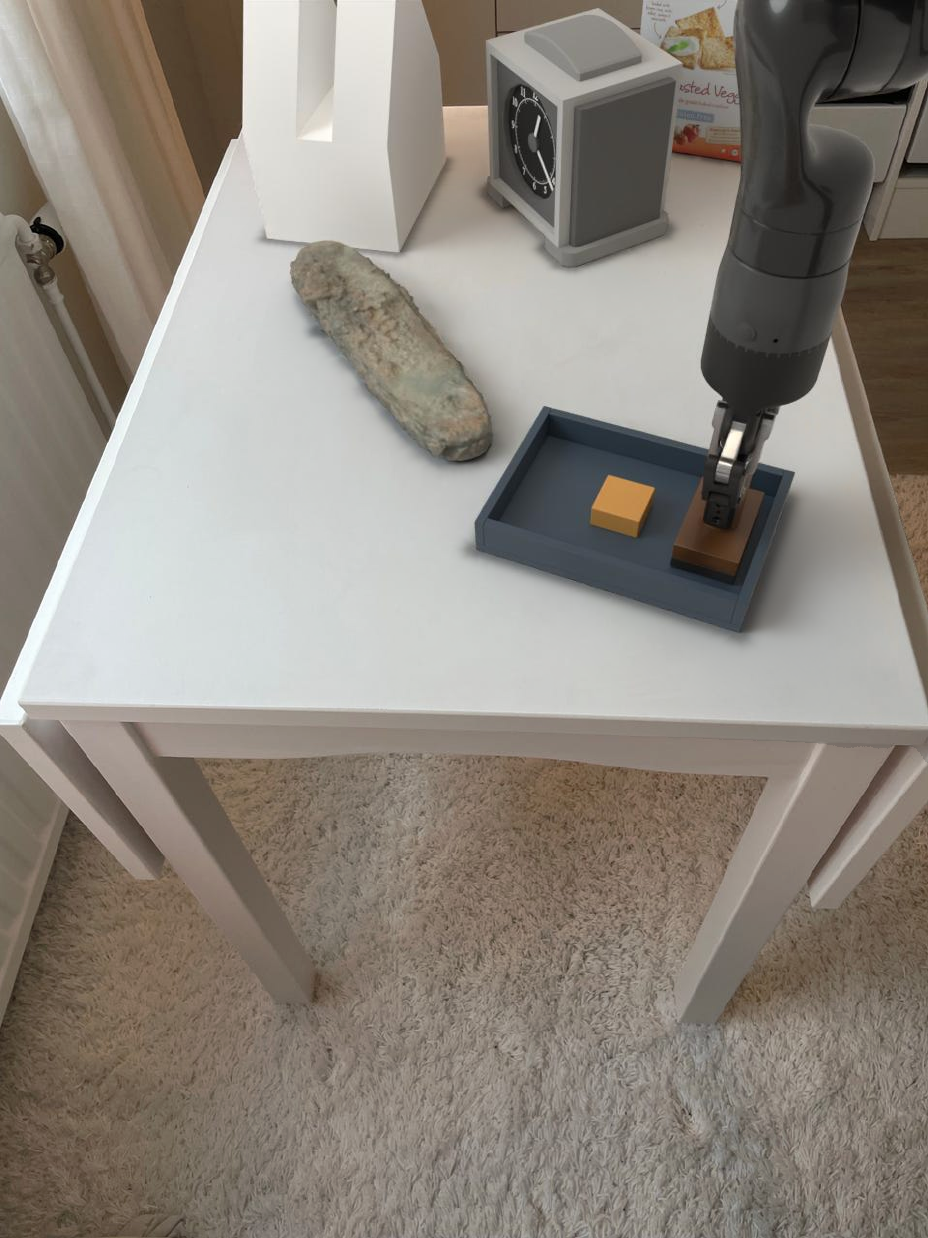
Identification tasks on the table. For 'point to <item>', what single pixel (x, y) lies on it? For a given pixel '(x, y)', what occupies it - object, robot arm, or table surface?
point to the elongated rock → (393, 349)
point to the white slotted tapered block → (341, 118)
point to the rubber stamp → (716, 538)
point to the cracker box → (700, 72)
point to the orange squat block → (622, 506)
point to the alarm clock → (582, 133)
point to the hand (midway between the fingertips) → (723, 507)
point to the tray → (633, 567)
